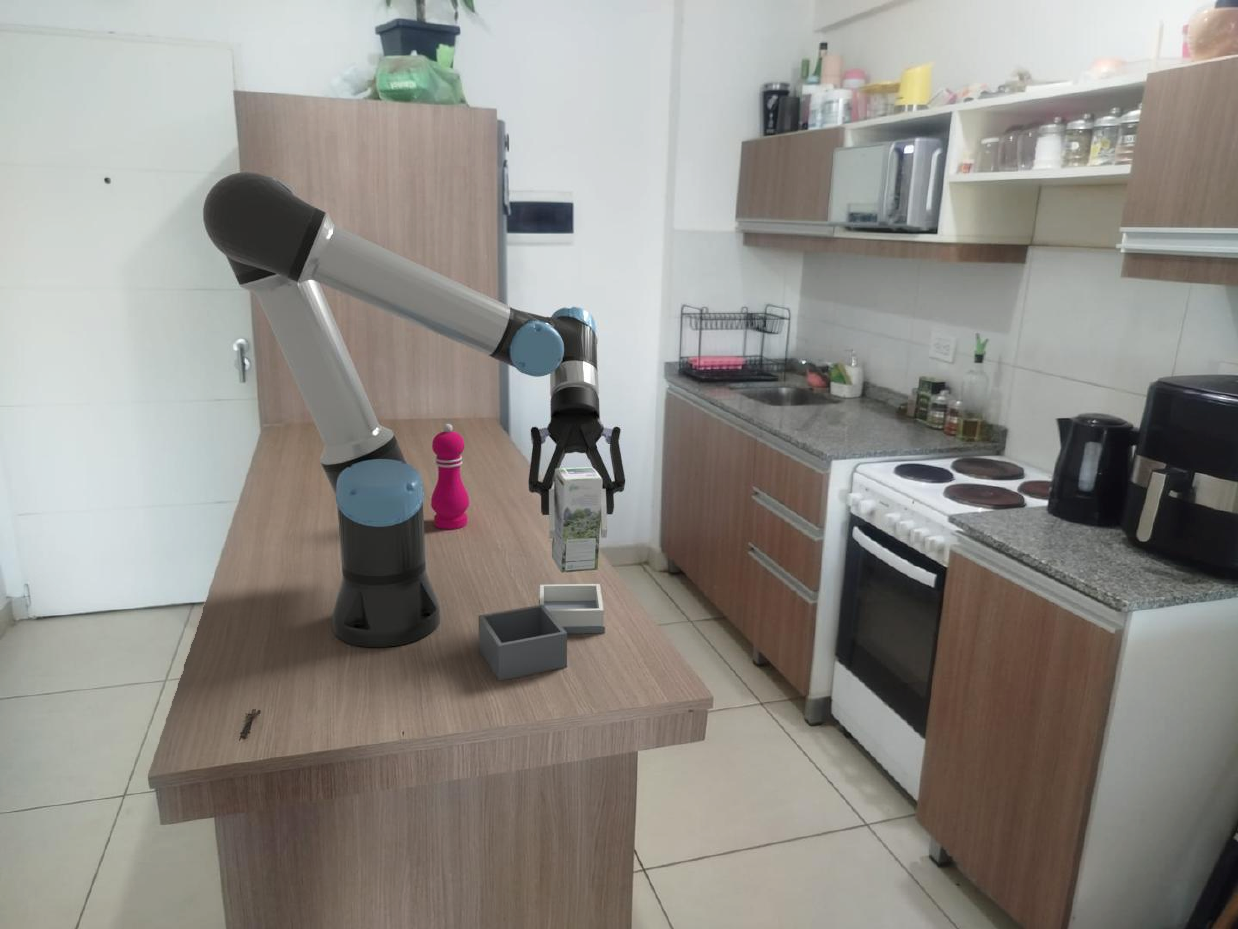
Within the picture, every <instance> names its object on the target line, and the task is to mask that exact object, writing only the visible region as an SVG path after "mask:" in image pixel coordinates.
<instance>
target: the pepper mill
mask: <svg viewBox="0 0 1238 929" xmlns="http://www.w3.org/2000/svg"><path fill="white" fill-rule="evenodd" d="M442 430H443V431H441V432H439V433H437V434H436V435H435V436H433V439H432V443H431V448H432V451H433V453H434V454H435V455H436V457H435V465H436V466H437V469H438V470H437V471H438V474H437V476H438V478H437V482H436V485H435V488H434V490H433V492H432V496H431V499H430V502H431V503H430V505H431V509H432V510H433V512H435V515H434V516H433V519H434V526H435V527H436V528H438V529H442V530H457V529H461V528H464V527H466V526H467V524H468V514H467V513H466V510H467V509H469V506H470V498H469V495H468V490H467V489H466V487H465V485H464V482H463V480H462V476H461V465H463V461H462V460H463V457H462V453H463V452H464V451H465V440H464V439H463V437H462V436H461V434H459V433H458V432H456V431H453V425H452V424H450V423H445V424H444V425H443V427H442Z"/></svg>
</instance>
